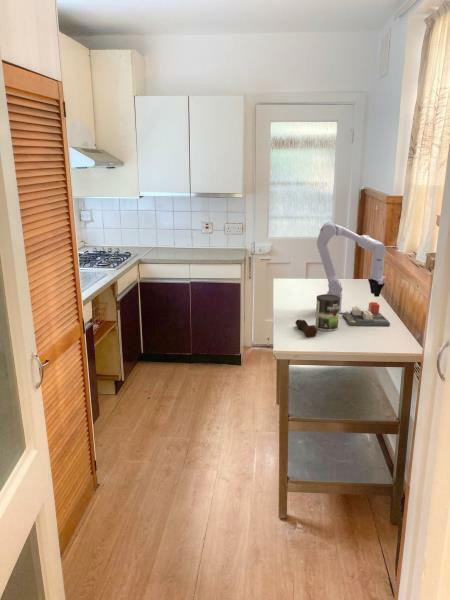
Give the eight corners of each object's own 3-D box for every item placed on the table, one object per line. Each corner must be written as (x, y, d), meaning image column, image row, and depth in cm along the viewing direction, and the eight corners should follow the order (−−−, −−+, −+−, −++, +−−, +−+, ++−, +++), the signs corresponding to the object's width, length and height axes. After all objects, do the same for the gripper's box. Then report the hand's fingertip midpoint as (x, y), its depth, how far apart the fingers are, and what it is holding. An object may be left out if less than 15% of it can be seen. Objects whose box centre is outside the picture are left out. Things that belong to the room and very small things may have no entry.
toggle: (354, 316, 226) (355, 309, 225) (351, 313, 231) (352, 306, 230) (360, 316, 226) (361, 309, 225) (358, 313, 231) (358, 306, 230)
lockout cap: (370, 314, 235) (371, 303, 233) (368, 312, 239) (369, 301, 237) (378, 314, 235) (379, 303, 233) (376, 312, 239) (377, 301, 237)
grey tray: (349, 325, 219) (350, 320, 218) (342, 315, 233) (342, 310, 232) (389, 326, 218) (390, 320, 218) (379, 315, 233) (380, 311, 232)
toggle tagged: (365, 320, 220) (366, 313, 219) (362, 317, 225) (363, 310, 224) (372, 320, 220) (372, 313, 219) (369, 317, 225) (369, 310, 224)
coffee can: (343, 328, 215) (345, 298, 211) (324, 332, 210) (326, 301, 206) (328, 322, 224) (330, 293, 220) (310, 325, 219) (311, 295, 215)
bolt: (299, 330, 219) (312, 340, 205) (290, 325, 218) (303, 335, 203) (306, 319, 219) (319, 328, 204) (297, 314, 217) (310, 323, 203)
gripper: (390, 270, 223) (387, 299, 227) (381, 264, 237) (378, 291, 241) (375, 270, 224) (372, 299, 227) (366, 264, 237) (364, 291, 241)
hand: (375, 295), depth 234 cm, fingers open, 5 cm apart
